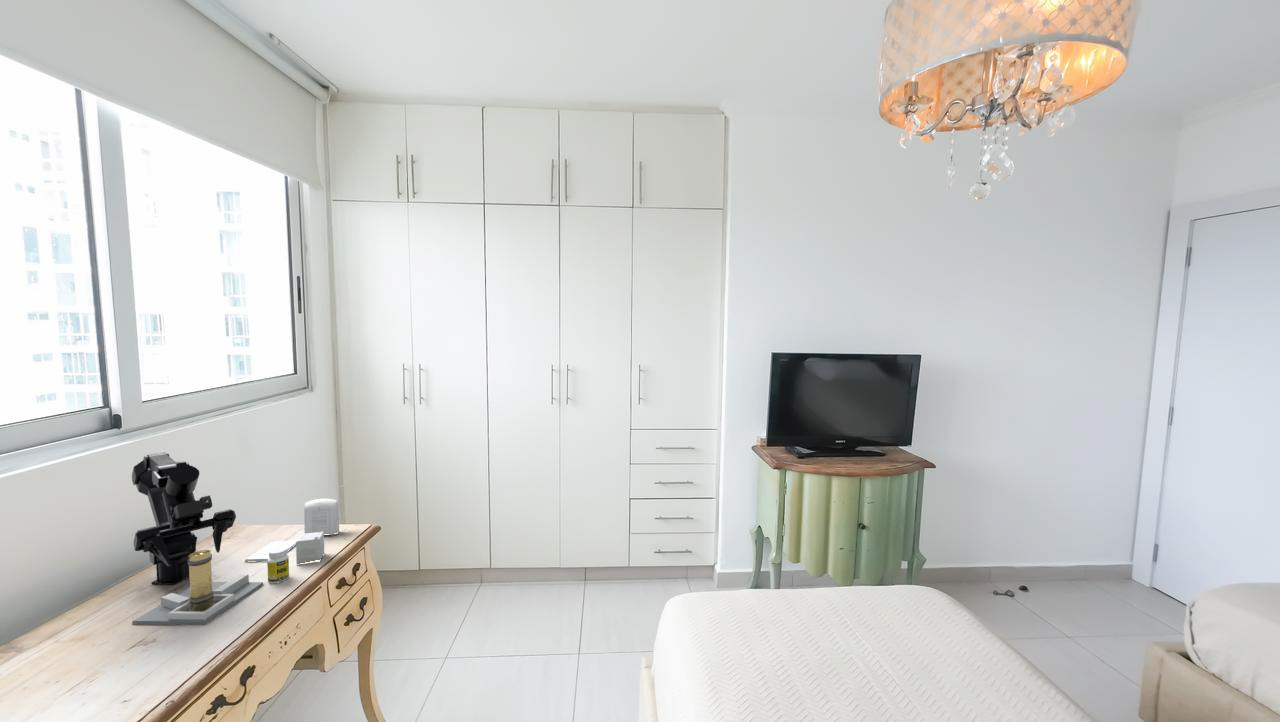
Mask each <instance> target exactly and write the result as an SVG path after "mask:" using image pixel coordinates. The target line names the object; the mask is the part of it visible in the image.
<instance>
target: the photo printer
mask: <svg viewBox="0 0 1280 722" xmlns="http://www.w3.org/2000/svg"><path fill="white" fill-rule="evenodd" d="M339 503H340V502H339V500H338V499H333V498H316V499H313V500H309V501H307V502H305V504H304V507H303V513H304V517H303V518H304V522H303V523H304V534H305V533H315V532H324V534H334V533H337V532H339V533H340V504H339Z"/></svg>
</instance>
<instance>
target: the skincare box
mask: <svg viewBox="0 0 1280 722" xmlns="http://www.w3.org/2000/svg"><path fill="white" fill-rule="evenodd" d="M295 541H296V546H295V549H296V550H295V552H296V553H295V556H296V557H295V558H296V560H295V561H296V565H297V564H300V563H305V562H310V561H315V560H320V559H321V558H322V559H323V557H324V555H325V536H324V532H315V533H305V532H304V533H301V534H300V535H299V536H298V537H297V539H296V540H295ZM323 554H324V555H323ZM322 556H323V557H322ZM322 559H321V560H322Z"/></svg>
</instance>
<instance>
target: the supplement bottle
mask: <svg viewBox="0 0 1280 722" xmlns="http://www.w3.org/2000/svg"><path fill="white" fill-rule="evenodd" d="M289 560H290V559H289V555H288V552H287V548H285V547H280V548H275V549H272V550H271V551H269V559H268V561H267V562H266V563H267V582H268V583H269V584H279V583H278V582H280V583H282V582H281V581H283V582H285V581H286V580H288V579H289V578H290V564H289V563H290V562H289ZM288 577H289V578H288ZM287 578H288V579H287ZM284 580H285V581H284Z"/></svg>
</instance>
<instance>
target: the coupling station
mask: <svg viewBox="0 0 1280 722" xmlns="http://www.w3.org/2000/svg"><path fill="white" fill-rule="evenodd" d="M249 579H250V578H249V574H247V573H246V574H245V573H243V574H241V573H240V574H238V575H236V576H235V577H233V578H232V579H230V580H228V581H212V591H213V593H214V597H213V606H212V607H210V608H209V609H207V610H206V611H204V612H197V611H191V604H190V601H189V598H190V587H188V589H185V590H184V591H182V592H180V593H173V592H170V593H167V594H166V595H164V596H161V597H160V600H161V601H160V602H161V603H160V604H159V605H158V606H156V607H154V608H152V609H150V610H149V611H147V612H145V613H143V614H141V615H140V616H139V617H136V618H134V619H133V620H132V622H131V625H176V626H177V625H178V626H179V625H185V626H187V625H189V626H190V625H193V626H194V625H195V626H196V625H197V626H202V625H203V626H204V625H207V624H208V623H210V622H211V621H212V620H214V619H215V618H217V617H219V616H220V615H221V614H224V612H226V611H228V610H229V609H230V608H232V607H234V606H235V605H236V604H238V603H239V602H241V601H242V600H243V598H244V599H245V598H246V596H247V597H248V596H249V595H251V594H253V593H254V592H255V591H257V590H258V589H260V588H261V587H263V586H264V582H263V581H258V582H257V581H249ZM262 585H263V586H262ZM240 600H241V601H240ZM237 602H238V603H237ZM218 615H219V616H218Z"/></svg>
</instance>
